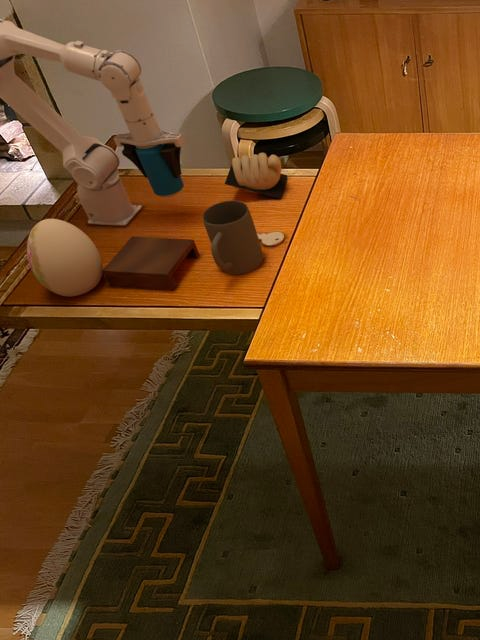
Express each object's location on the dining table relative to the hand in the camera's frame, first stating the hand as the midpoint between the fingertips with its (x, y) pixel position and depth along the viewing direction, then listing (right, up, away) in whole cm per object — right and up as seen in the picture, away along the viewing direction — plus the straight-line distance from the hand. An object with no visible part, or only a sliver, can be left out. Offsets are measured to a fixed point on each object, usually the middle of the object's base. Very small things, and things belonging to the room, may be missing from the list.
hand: (163, 175), depth 155 cm
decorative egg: (-13, -25, -10) cm, 30 cm away
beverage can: (0, -3, +3) cm, 4 cm away
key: (+22, -12, +1) cm, 25 cm away
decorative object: (+17, +8, +14) cm, 23 cm away
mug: (+19, -21, -8) cm, 30 cm away
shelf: (+2, -22, -8) cm, 23 cm away
